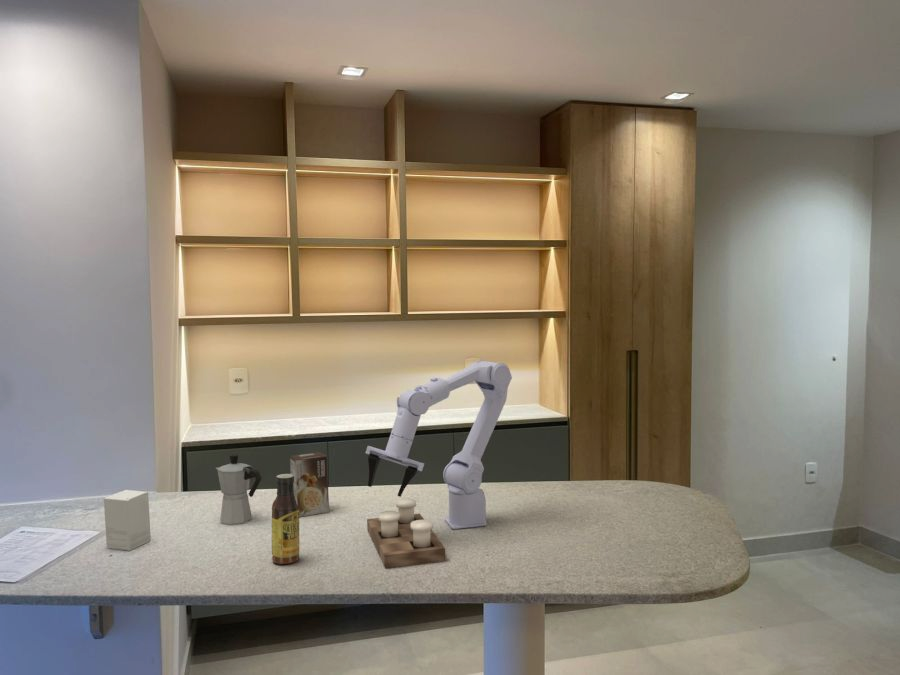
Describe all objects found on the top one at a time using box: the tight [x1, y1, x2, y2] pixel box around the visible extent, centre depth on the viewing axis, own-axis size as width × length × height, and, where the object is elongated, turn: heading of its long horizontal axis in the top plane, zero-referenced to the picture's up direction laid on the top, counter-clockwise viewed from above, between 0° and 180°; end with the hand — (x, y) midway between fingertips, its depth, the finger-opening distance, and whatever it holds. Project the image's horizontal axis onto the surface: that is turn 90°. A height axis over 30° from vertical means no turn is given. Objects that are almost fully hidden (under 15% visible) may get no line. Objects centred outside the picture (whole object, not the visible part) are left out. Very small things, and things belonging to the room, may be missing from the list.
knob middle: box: [378, 510, 400, 538], centre depth 166 cm, size 5×5×5 cm
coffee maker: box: [215, 453, 263, 526], centre depth 186 cm, size 15×9×18 cm, turn 68°
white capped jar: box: [395, 497, 417, 523], centre depth 176 cm, size 5×5×5 cm
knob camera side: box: [410, 519, 434, 548], centre depth 160 cm, size 5×5×5 cm
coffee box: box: [289, 451, 330, 518], centre depth 192 cm, size 9×6×16 cm
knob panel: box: [366, 513, 446, 569], centre depth 168 cm, size 14×25×3 cm, turn 16°
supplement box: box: [103, 489, 152, 552], centre depth 170 cm, size 7×7×13 cm
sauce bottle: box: [271, 473, 300, 565], centre depth 158 cm, size 7×6×20 cm
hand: (384, 491), depth 168 cm, fingers open, 7 cm apart
